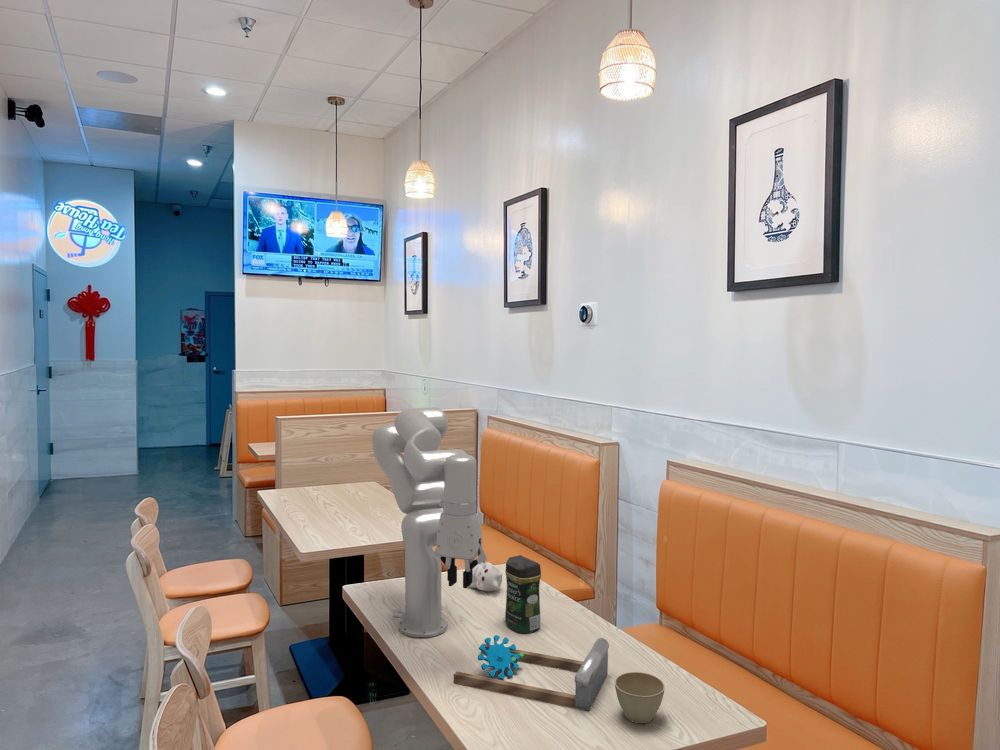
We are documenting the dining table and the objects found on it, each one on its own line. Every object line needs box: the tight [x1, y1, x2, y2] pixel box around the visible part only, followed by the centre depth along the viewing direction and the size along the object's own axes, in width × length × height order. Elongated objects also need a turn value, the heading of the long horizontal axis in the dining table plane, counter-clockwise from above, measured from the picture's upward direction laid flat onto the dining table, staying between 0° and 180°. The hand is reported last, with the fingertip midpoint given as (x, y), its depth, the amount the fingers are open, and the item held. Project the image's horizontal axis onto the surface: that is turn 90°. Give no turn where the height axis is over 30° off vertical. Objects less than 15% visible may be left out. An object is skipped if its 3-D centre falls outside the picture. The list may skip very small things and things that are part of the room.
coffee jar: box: [504, 554, 542, 634], centre depth 187 cm, size 10×8×19 cm
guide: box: [453, 643, 584, 709], centre depth 160 cm, size 28×17×2 cm, turn 69°
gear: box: [477, 634, 524, 681], centre depth 163 cm, size 11×6×10 cm
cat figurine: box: [468, 561, 503, 592], centre depth 215 cm, size 10×8×15 cm
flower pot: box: [614, 671, 666, 724], centre depth 143 cm, size 10×10×7 cm
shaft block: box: [574, 637, 610, 712], centre depth 154 cm, size 3×18×8 cm, turn 158°
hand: (459, 584), depth 165 cm, fingers open, 3 cm apart
